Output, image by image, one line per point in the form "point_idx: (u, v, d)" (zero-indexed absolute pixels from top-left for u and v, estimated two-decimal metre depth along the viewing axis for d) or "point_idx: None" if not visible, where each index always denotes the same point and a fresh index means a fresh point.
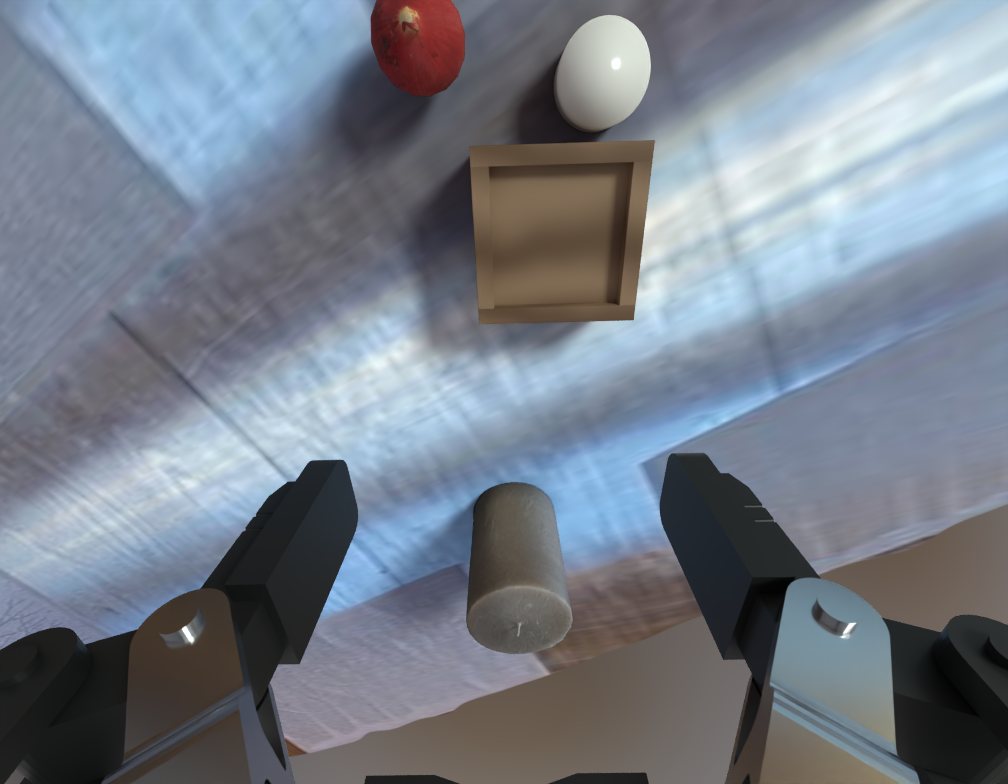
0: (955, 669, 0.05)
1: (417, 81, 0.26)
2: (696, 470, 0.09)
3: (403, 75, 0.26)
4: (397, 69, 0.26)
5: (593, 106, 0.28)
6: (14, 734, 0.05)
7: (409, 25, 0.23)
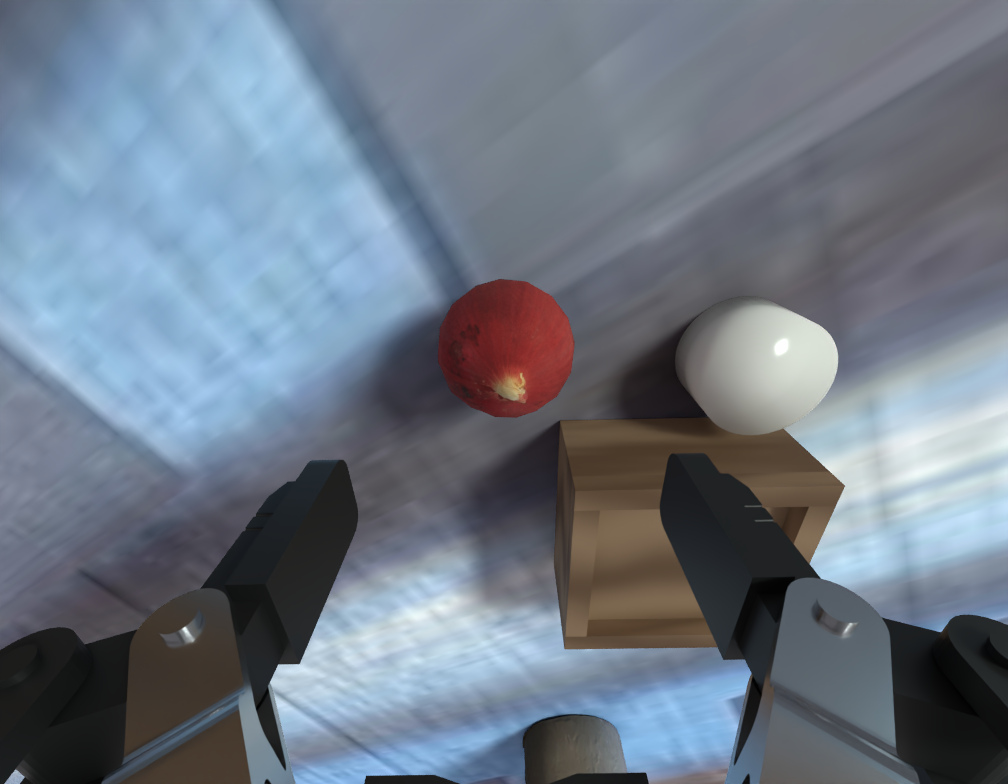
0: (955, 669, 0.05)
1: None
2: (696, 470, 0.09)
3: (485, 412, 0.17)
4: (478, 409, 0.17)
5: (744, 413, 0.20)
6: (14, 734, 0.05)
7: (512, 401, 0.15)
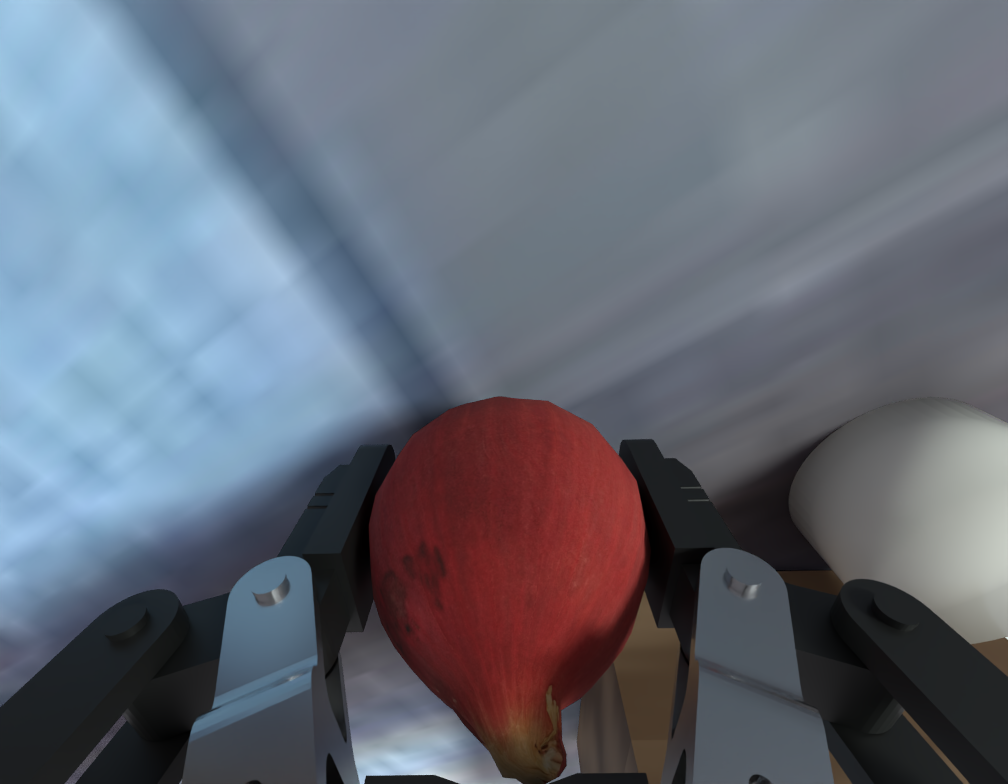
0: (850, 634, 0.06)
1: None
2: (641, 454, 0.10)
3: None
4: None
5: (942, 617, 0.11)
6: (119, 687, 0.05)
7: (528, 779, 0.06)
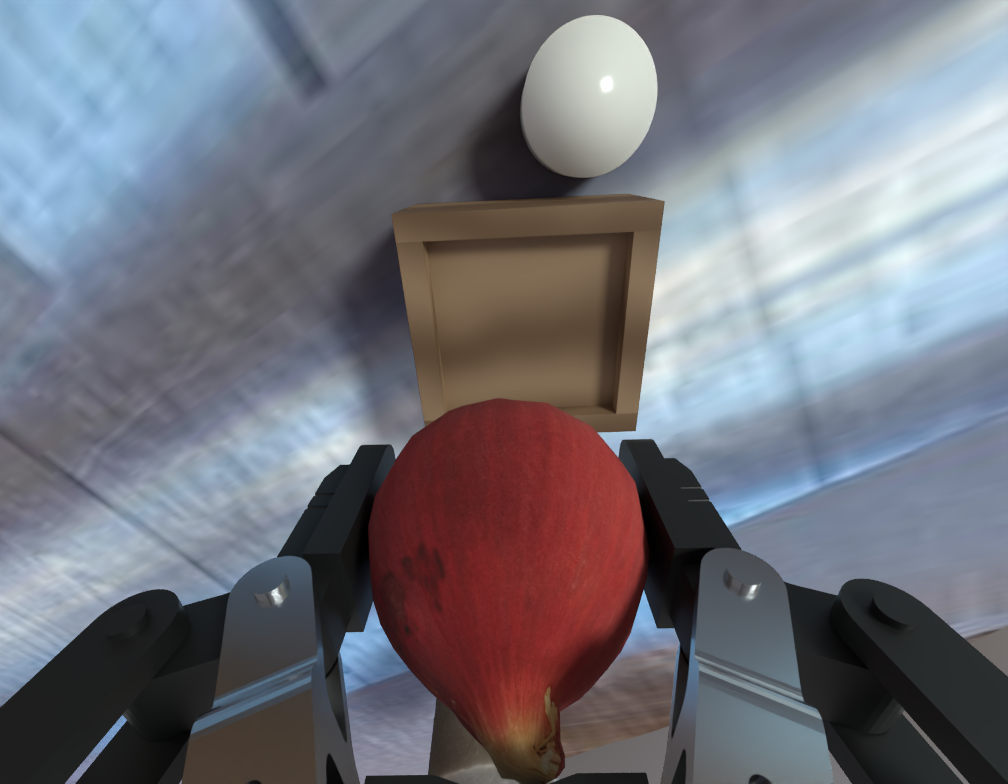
0: (850, 633, 0.06)
1: None
2: (641, 454, 0.10)
3: None
4: None
5: (573, 147, 0.20)
6: (119, 688, 0.05)
7: (527, 780, 0.06)
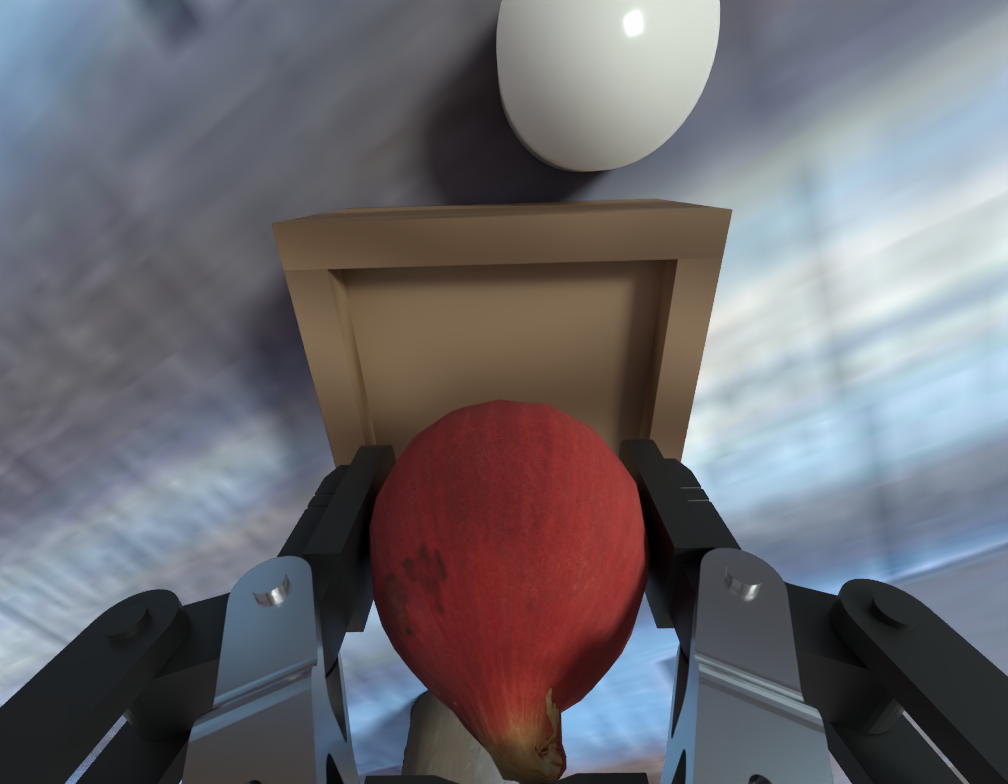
0: (850, 634, 0.06)
1: None
2: (641, 454, 0.10)
3: None
4: None
5: (579, 122, 0.12)
6: (120, 688, 0.05)
7: (527, 782, 0.06)
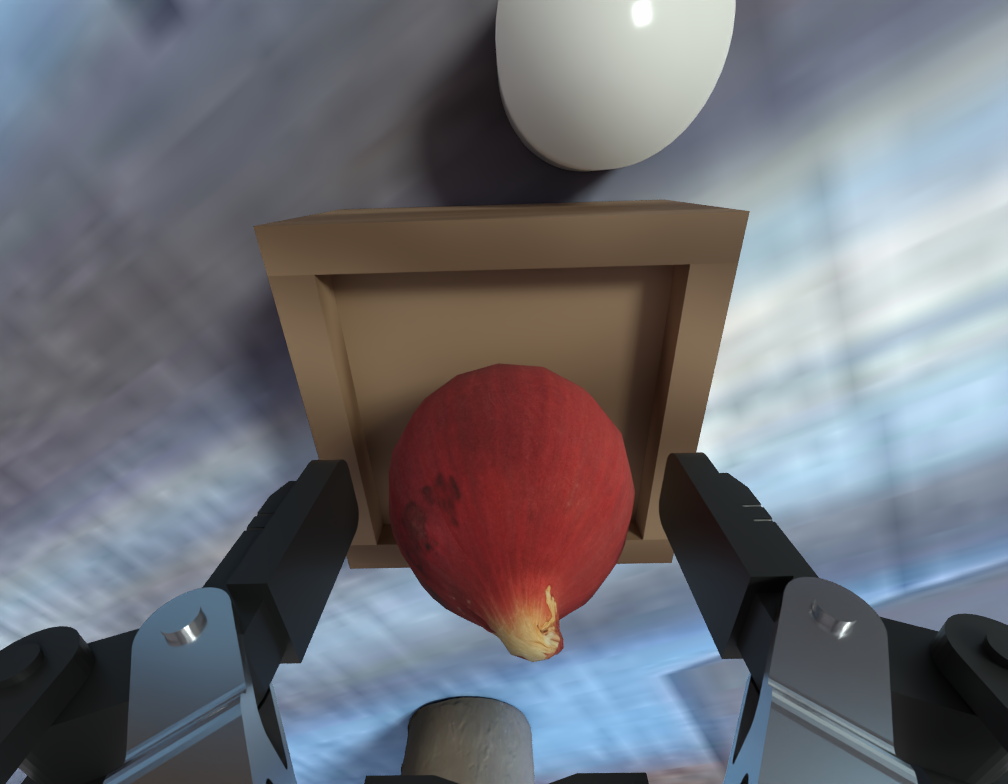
0: (952, 668, 0.06)
1: None
2: (695, 469, 0.09)
3: None
4: None
5: (584, 117, 0.11)
6: (17, 733, 0.05)
7: (531, 658, 0.07)
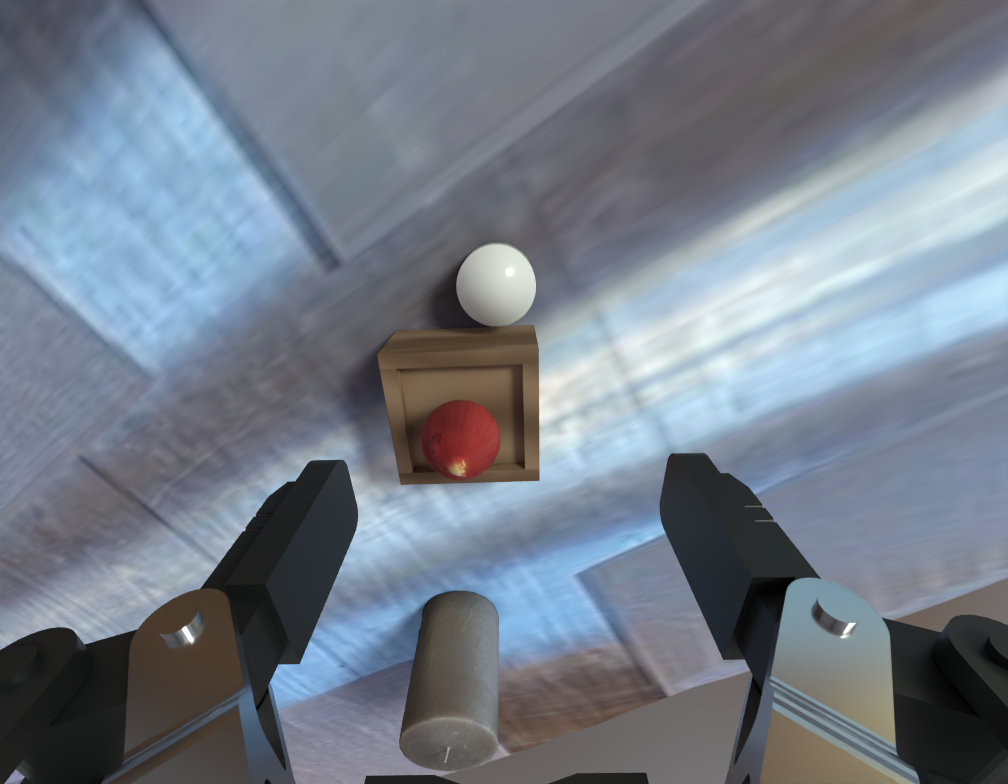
0: (955, 669, 0.05)
1: None
2: (696, 470, 0.09)
3: None
4: (444, 476, 0.30)
5: (488, 310, 0.32)
6: (13, 735, 0.05)
7: (458, 476, 0.27)
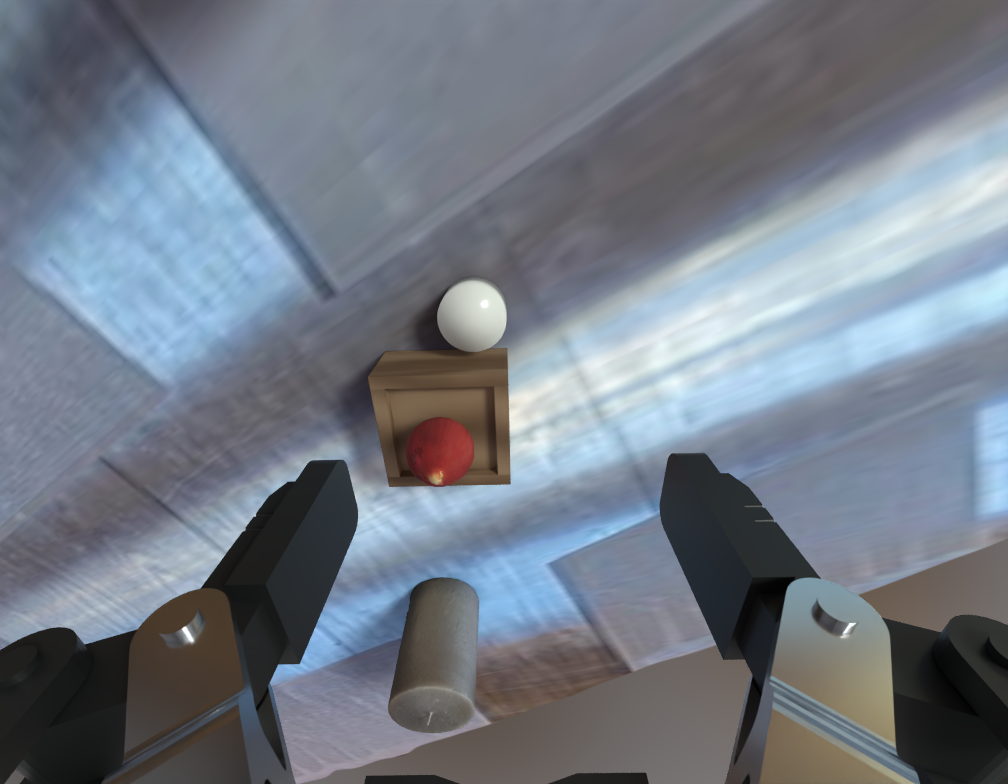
0: (955, 669, 0.05)
1: None
2: (696, 470, 0.09)
3: None
4: None
5: (465, 338, 0.37)
6: (12, 735, 0.05)
7: (436, 484, 0.32)
